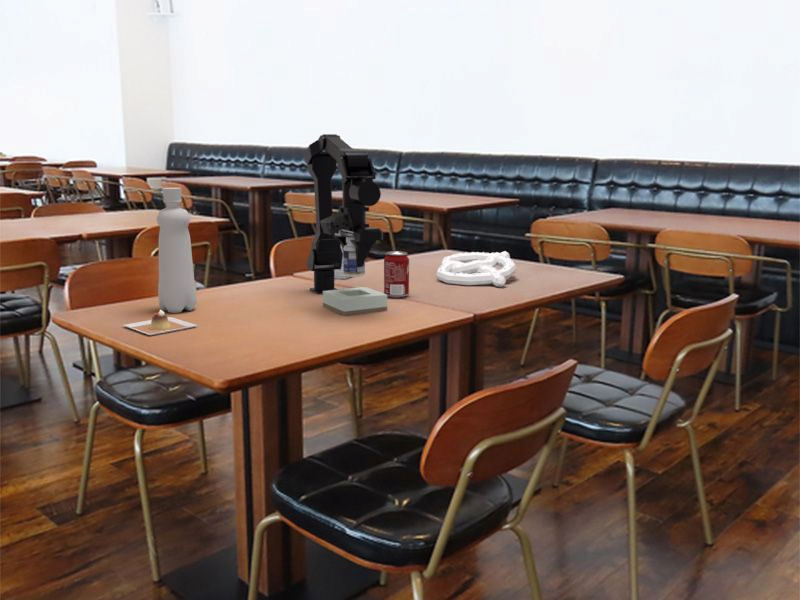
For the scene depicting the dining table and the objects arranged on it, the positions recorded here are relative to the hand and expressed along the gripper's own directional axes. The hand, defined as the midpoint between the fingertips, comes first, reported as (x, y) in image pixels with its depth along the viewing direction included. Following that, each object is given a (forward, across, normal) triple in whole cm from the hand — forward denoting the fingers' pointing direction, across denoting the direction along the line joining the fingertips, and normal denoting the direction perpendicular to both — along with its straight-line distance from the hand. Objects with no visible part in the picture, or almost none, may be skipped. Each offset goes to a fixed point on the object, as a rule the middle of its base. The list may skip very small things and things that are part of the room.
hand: (354, 265), depth 193 cm
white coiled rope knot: (+11, -19, +52) cm, 57 cm away
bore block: (+11, 0, 0) cm, 11 cm away
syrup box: (+12, -41, +17) cm, 46 cm away
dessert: (+12, -4, -48) cm, 49 cm away
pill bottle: (+3, 0, 0) cm, 3 cm away
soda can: (+11, -8, +17) cm, 22 cm away
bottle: (+11, -20, -39) cm, 45 cm away
